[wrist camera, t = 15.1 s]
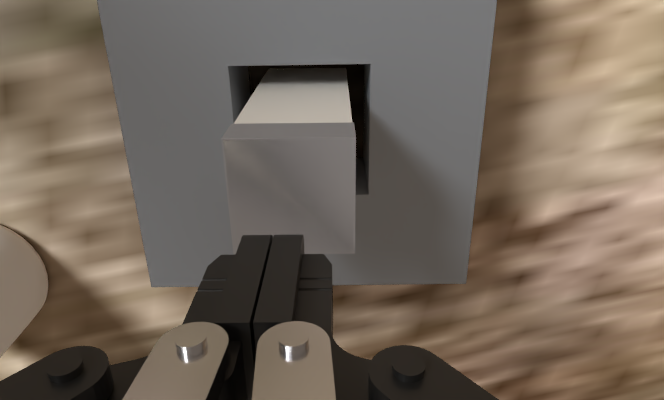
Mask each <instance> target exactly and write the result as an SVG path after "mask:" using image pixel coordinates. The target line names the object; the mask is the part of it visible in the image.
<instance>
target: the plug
mask: <svg viewBox="0 0 664 400" xmlns="http://www.w3.org/2000/svg"><path fill="white" fill-rule="evenodd" d="M221 140H222V149H223V159H224V168H225V178H226V187H227V197H228V207H229V216H230V226H231V235H232V245H233V254H234V255H236V252H237V249H238V246H239V243H240V241H241V238H242V236H243V235H273V236H274V235H300V234H303V236H304V252H305V254H355V192H356V134H355V126H354V122H352V115H351V106H350V98H349V90H348V81H347V73H346V68H283V69H268V70H267V72H266V74H265V75H264V77H263V78H262V80H261V81H260V83H259V85H258V86H257V88H256V89H255V91H254V92H253V94H252V96H251V97H250V99H249V100H248V102H247V103H246V105H245V106H244V108H243V110H242V111H241V113H240V114H239V116H238V117H237V119H236V121H235V122H234V124H230V126H229V127H228V129H227V131H226V132H225V134H224V135H223V137H222V138H221Z"/></svg>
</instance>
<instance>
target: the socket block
mask: <svg viewBox="0 0 664 400" xmlns="http://www.w3.org/2000/svg"><path fill="white" fill-rule="evenodd" d="M97 4H98V9H99V14H100V20H101V25H102V30H103V35H104V41H105V46H106V51H107V56H108V62H109V67H110V72H111V77H112V83H113V88H114V93H115V98H116V103H117V109H118V114H119V119H120V124H121V130H122V135H123V140H124V145H125V151H126V156H127V161H128V166H129V172H130V177H131V182H132V187H133V193H134V198H135V203H136V208H137V214H138V219H139V224H140V229H141V234H142V240H143V245H144V250H145V255H146V261H147V266H148V271H149V276H150V282H151V287H199V285H200V283H201V281H202V278H203V276H204V274H205V271H206V269H207V267H208V265H209V264H211V263H212V262H213V261H214V260H215V259H217V258H218V257H219V256H220V255H234V254H233V245H232V235H231V226H230V216H229V207H228V197H227V187H226V178H225V168H224V159H223V149H222V140H221V138H222V137H223V135H224V134H225V132H226V131H227V129H228V127H229V126H230V124H234V122H235V121H236V119H237V117H238V116H239V114H240V113H241V111H242V110H243V108H244V106H245V105H246V103H247V102H248V100H249V99H250V86H249V74H248V66H261V65H327V64H364V129H363V158H356V192H355V254H324V255H325V256H326V257H327V259H328V260H329V261H330V263H331V264H332V285H389V284H466V279H467V270H468V261H469V252H470V243H471V233H472V224H473V215H474V206H475V197H476V188H477V179H478V169H479V160H480V151H481V142H482V133H483V124H484V115H485V105H486V96H487V87H488V78H489V69H490V60H491V50H492V41H493V32H494V23H495V14H496V5H497V0H97Z"/></svg>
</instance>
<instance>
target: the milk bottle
mask: <svg viewBox="0 0 664 400" xmlns="http://www.w3.org/2000/svg"><path fill="white" fill-rule="evenodd" d="M47 293H48V274H47V271H46V268H45V265H44V263H43V261H42V260H41V258H40V256H39V254H38V253H37V252H36V251H35V249H34V248H33V247H32V246H31V245H30V244H29V243H28V242H27V241H26V240H25V239H24V238H23V237H21V236H20V235H18V234H17V233H15V232H14V231H12V230H11V229H8V228H6V227H4V226H2V225H0V357H1V356H2V355H3V354H4V353H5V352H6V350H7V349H8V348H9V347H10V346H11V345H12V343H13V342H14V341H15V340H16V339H17V338H18V336H19V335H20V334H21V333H22V332H23V331H24V329H25V328H26V327H27V326H28V325H29V323H30V322H31V321H32V320H33V319H34V317H35V316H36V315H37V313H38V312H39V311H40V310H41V308H42V307H43V305H44V303H45V301H46V298H47Z"/></svg>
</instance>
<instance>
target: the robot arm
mask: <svg viewBox="0 0 664 400" xmlns="http://www.w3.org/2000/svg"><path fill="white" fill-rule="evenodd" d="M0 400H498V399H497V398H495V397H494V396H493V395H491V394H490V393H488V392H487V391H486V390H484V389H483V388H481V387H480V386H478V385H477V384H476V383H474V382H473V381H471V380H470V379H469V378H467V377H466V376H464V375H463V374H461V373H460V372H459V371H457V370H456V369H454V368H453V367H452V366H450V365H449V364H447V363H446V362H444V361H443V360H442V359H440V358H439V357H437V356H436V355H434V354H433V353H431V352H430V351H427V350H425V349H422V348H419V347H415V346H407V345H401V346H393V347H389V348H386V349H384V350H382V351H380V352H379V353H377V354H376V355H375V356H374V357H373V359H372V360H368V359H364V358H360V357H357V356H354V355H352V354H349V353H348V352H346V351H344V350H343V349H342V348H340V347H339V346H338V345H337V344H336V342H335V341H334V339H333V286H332V264H331V263H330V261H329V260H328V259H327V257H326V256H325V255H324V254H305V252H304V236H303V234H300V235H274V236H273V235H243V236H242V238H241V241H240V243H239V246H238V249H237V252H236V255H220V256H219V257H218V258H217V259H215V260H214V261H213V262H212V263H211V264H209V265H208V267H207V269H206V271H205V274H204V276H203V278H202V281H201V283H200V285H199V287H198V292H196V294H195V297H194V299H193V301H192V304H191V306H190V308H189V310H188V313H187V315H186V317H185V320H184V322H183V324H182V325H180V326H177V327H175V328H173V329H171V330H169V331H168V332H166V333H165V334H164V335H162V336H161V337H160V338H159V340H158V341H157V342H156V344H155V346H154V347H153V349H152V351H151V352H150V354H149V356H146V357H143V358H140V359H136V360H132V361H127V362H123V363H118V364H114V365H109V361H108V357H107V355H106V354H105V353H104V352H103V351H102V350H100V349H98V348H95V347H91V346H77V347H71V348H67V349H63V350H60V351H58V352H55V353H53V354H51V355H49V356H47V357H45V358H43V359H41V360H39V361H37V362H36V363H34V364H32V365H30V366H28V367H26V368H24V369H22V370H21V371H19V372H17V373H15V374H13V375H11V376H9V377H7V378H6V379H4V380H2V381H0Z"/></svg>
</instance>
